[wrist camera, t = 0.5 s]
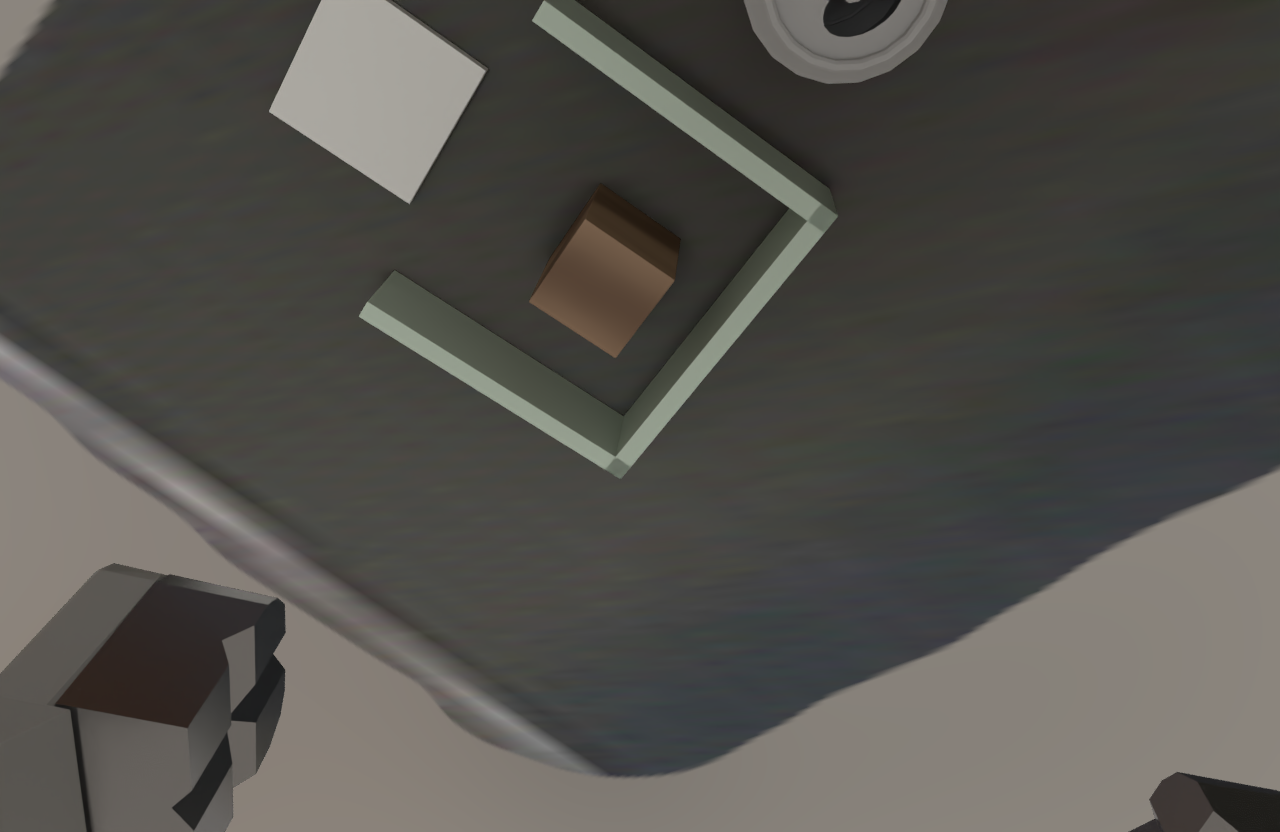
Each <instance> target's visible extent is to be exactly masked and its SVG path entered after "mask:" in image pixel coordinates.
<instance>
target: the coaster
mask: <svg viewBox="0 0 1280 832" xmlns="http://www.w3.org/2000/svg"><path fill="white" fill-rule="evenodd" d="M487 71H488V68H487V67H485V66H484V65H483V64H481V63H480V62H478V61H477V60H475V59H474V58H473V57H471V56H470V55H468V54H467V53H466V52H464V51H463V50H461V49H460V48H458V47H457V46H456V45H454V44H453V43H451V42H450V41H449V40H447V39H446V38H444V37H443V36H441V35H440V34H439V33H437V32H436V31H434V30H433V29H432V28H430V27H429V26H427V25H426V24H424V23H423V22H422V21H420V20H419V19H417V18H416V17H415V16H413V15H412V14H410V13H409V12H407V11H406V10H405V9H403V8H402V7H400V6H399V5H398V4H396V3H395V2H393V1H392V0H321V2H320V4H319V7H318V9H317V11H316V13H315V15H314V17H313V19H312V21H311V23H310V26H309V28H308V30H307V32H306V34H305V36H304V38H303V40H302V43H301V45H300V47H299V49H298V51H297V53H296V55H295V57H294V59H293V62H292V64H291V66H290V68H289V70H288V72H287V74H286V76H285V79H284V81H283V83H282V85H281V87H280V89H279V91H278V93H277V95H276V98H275V100H274V102H273V104H272V106H271V108H270V110H269V112H270V113H272V114H273V115H275V116H276V117H278V118H280V119H281V120H283V121H284V122H286V123H287V124H289V125H290V126H292V127H293V128H295V129H296V130H298V131H299V132H301V133H302V134H304V135H305V136H307V137H308V138H310V139H311V140H313V141H314V142H316V143H318V144H319V145H321V146H322V147H324V148H325V149H327V150H328V151H330V152H331V153H333V154H334V155H336V156H337V157H339V158H340V159H342V160H343V161H345V162H346V163H348V164H349V165H351V166H352V167H354V168H356V169H357V170H359V171H360V172H362V173H363V174H365V175H366V176H368V177H369V178H371V179H372V180H374V181H375V182H377V183H378V184H380V185H381V186H383V187H384V188H386V189H387V190H389V191H390V192H392V193H394V194H395V195H397V196H398V197H400V198H401V199H403V200H404V201H406V202H407V203H409V204H410V203H411V202H412V201H413V199H414V197H415V196H416V194H417V192H418V190H419V189H420V187H421V185H422V183H423V182H424V180H425V178H426V177H427V175H428V173H429V171H430V170H431V168H432V166H433V164H434V163H435V161H436V159H437V158H438V156H439V154H440V152H441V151H442V149H443V147H444V145H445V144H446V142H447V140H448V138H449V137H450V135H451V133H452V132H453V130H454V128H455V126H456V125H457V123H458V121H459V119H460V118H461V116H462V114H463V113H464V111H465V109H466V107H467V106H468V104H469V102H470V100H471V99H472V97H473V95H474V93H475V92H476V90H477V88H478V87H479V85H480V83H481V81H482V80H483V78H484V76H485V74H486V73H487Z"/></svg>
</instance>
